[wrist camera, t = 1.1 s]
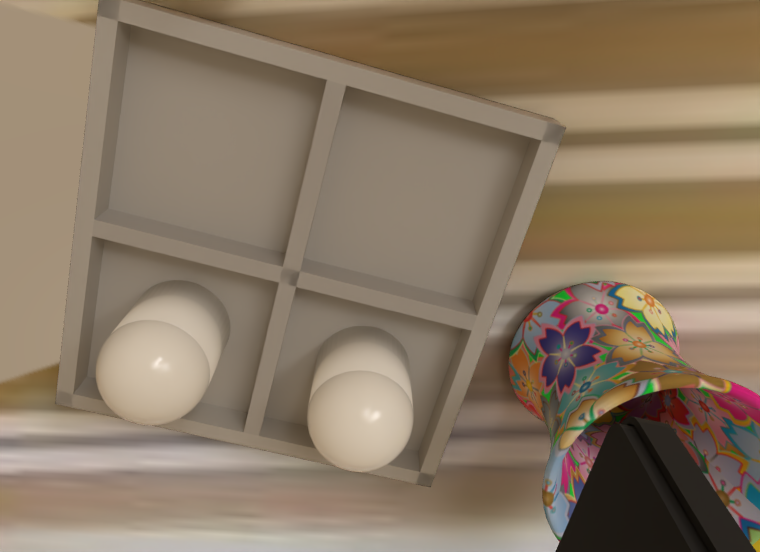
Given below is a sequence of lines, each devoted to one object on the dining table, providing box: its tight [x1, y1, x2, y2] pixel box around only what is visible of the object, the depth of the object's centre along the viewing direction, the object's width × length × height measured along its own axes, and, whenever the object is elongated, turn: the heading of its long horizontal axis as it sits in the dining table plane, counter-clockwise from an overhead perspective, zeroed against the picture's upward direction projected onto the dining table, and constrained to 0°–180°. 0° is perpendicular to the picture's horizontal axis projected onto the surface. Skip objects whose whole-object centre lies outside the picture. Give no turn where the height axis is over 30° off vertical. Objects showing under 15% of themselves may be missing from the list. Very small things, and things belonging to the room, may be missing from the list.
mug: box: [509, 281, 760, 545], centre depth 30 cm, size 12×9×11 cm
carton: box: [55, 0, 566, 487], centre depth 32 cm, size 19×19×2 cm
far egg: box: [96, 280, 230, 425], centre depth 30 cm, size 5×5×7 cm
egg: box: [307, 326, 414, 472], centre depth 31 cm, size 5×5×7 cm
